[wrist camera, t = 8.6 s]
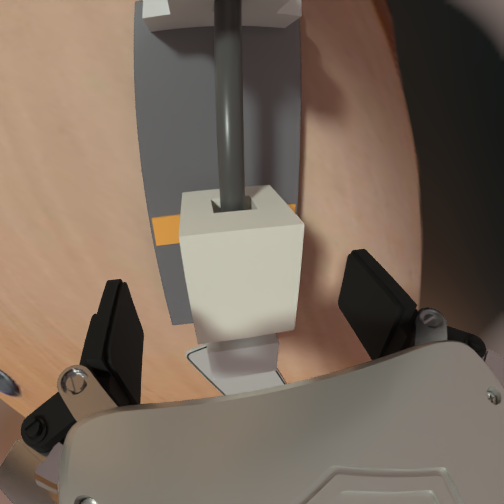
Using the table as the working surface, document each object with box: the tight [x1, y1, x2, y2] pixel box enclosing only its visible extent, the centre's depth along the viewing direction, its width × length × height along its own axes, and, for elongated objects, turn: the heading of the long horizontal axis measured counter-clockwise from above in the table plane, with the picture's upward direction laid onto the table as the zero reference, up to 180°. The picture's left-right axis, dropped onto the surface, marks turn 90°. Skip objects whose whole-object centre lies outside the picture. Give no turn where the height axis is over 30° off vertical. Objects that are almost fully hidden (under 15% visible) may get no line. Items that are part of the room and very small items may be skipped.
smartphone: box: [186, 343, 286, 395], centre depth 30 cm, size 7×1×15 cm
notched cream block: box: [179, 185, 304, 344], centre depth 15 cm, size 6×5×6 cm
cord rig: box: [134, 0, 302, 380], centre depth 14 cm, size 24×10×10 cm, turn 1°
